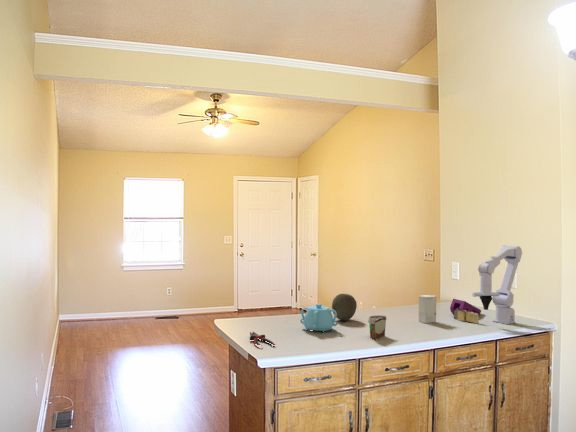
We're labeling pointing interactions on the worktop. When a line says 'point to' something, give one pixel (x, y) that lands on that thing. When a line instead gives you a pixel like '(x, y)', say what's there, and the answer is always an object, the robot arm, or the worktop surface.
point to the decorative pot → (318, 318)
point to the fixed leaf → (457, 313)
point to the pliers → (254, 337)
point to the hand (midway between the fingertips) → (485, 309)
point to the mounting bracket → (463, 306)
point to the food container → (377, 326)
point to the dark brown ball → (344, 306)
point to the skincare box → (427, 308)
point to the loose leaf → (468, 316)
